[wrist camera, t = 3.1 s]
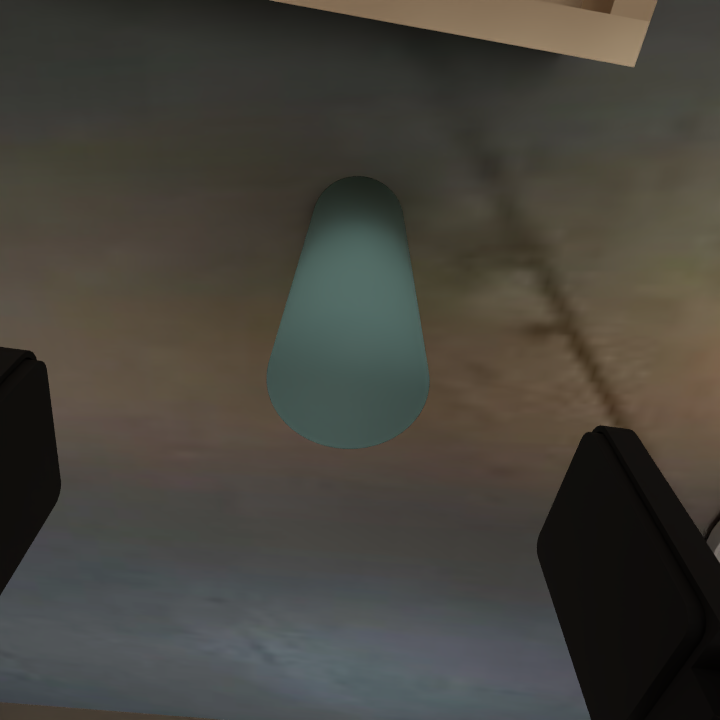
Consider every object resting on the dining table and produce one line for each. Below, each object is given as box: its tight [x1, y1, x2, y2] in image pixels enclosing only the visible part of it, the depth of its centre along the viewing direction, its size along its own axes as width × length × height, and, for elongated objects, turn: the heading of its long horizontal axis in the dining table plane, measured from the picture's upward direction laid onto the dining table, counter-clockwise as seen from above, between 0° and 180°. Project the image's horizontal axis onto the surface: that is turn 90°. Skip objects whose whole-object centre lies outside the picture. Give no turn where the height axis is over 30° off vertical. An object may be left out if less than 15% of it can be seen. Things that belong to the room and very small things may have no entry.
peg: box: [267, 176, 429, 449], centre depth 18 cm, size 4×4×12 cm
